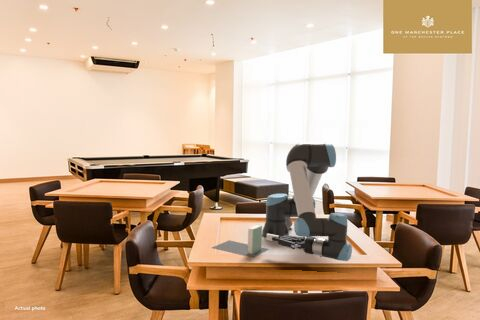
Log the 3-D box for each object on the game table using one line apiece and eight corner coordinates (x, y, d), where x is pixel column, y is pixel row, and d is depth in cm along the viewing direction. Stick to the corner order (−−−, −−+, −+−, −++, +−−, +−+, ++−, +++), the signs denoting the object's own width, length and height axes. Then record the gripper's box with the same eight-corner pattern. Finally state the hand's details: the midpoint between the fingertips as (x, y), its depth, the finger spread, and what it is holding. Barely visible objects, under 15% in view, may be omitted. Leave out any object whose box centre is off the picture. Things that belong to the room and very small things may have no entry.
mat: (269, 249, 184) (269, 249, 184) (253, 258, 170) (253, 257, 170) (229, 241, 197) (229, 240, 197) (211, 248, 183) (211, 247, 183)
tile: (261, 250, 182) (262, 226, 181) (253, 254, 175) (253, 229, 174) (255, 248, 184) (256, 225, 183) (247, 253, 177) (248, 228, 176)
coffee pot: (291, 225, 234) (292, 202, 233) (293, 230, 223) (294, 205, 221) (257, 224, 235) (258, 200, 234) (257, 228, 224) (258, 204, 223)
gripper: (309, 258, 158) (260, 247, 170) (319, 250, 169) (273, 241, 181) (309, 241, 157) (260, 231, 169) (320, 234, 168) (273, 226, 180)
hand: (267, 236), depth 175 cm, fingers closed
